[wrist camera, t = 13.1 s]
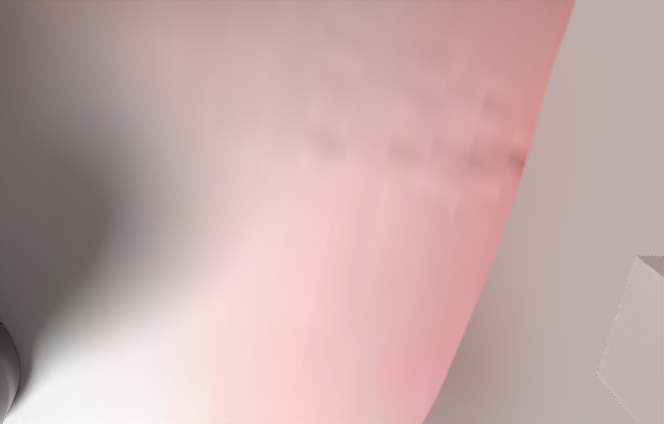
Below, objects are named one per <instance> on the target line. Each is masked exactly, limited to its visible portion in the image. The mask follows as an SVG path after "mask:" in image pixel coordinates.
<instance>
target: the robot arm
mask: <svg viewBox="0 0 664 424" xmlns="http://www.w3.org/2000/svg"><path fill="white" fill-rule="evenodd" d="M596 376H597V377H598V378H599V379H600V380H601V382H602V383H603V384H604V385H605V386H606V388H607V389H608V390H609V391H610V392H611V394H612V395H613V396H614V397H615V398H616V399H617V400H618V402H619V403H620V404H621V405H622V406H623V408H624V409H625V410H626V411H627V412H628V414H629V415H630V416H631V417H632V418H633V420H634V421H635V422H636V423H637V424H664V256H636V258H635V261H634V263H633V266H632V269H631V273H630V276H629V279H628V281H627V284H626V287H625V290H624V294H623V296H622V300H621V303H620V306H619V308H618V311H617V314H616V317H615V320H614V323H613V326H612V329H611V332H610V335H609V338H608V341H607V344H606V347H605V350H604V353H603V356H602V359H601V362H600V365H599V368H598V371H597V374H596ZM19 378H20V368H19V360H18V356H17V352H16V349H15V347H14V344H13V342H12V340H11V338H10V336H9V335H8V333H7V331H6V330H5V329H4V327H3V326H2V324H1V323H0V424H2V423H3V421H4V419H5V418H6V415H7V413H8V411H9V409H10V407H11V404H12V402H13V400H14V398H15V395H16V392H17V389H18V385H19Z"/></svg>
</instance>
